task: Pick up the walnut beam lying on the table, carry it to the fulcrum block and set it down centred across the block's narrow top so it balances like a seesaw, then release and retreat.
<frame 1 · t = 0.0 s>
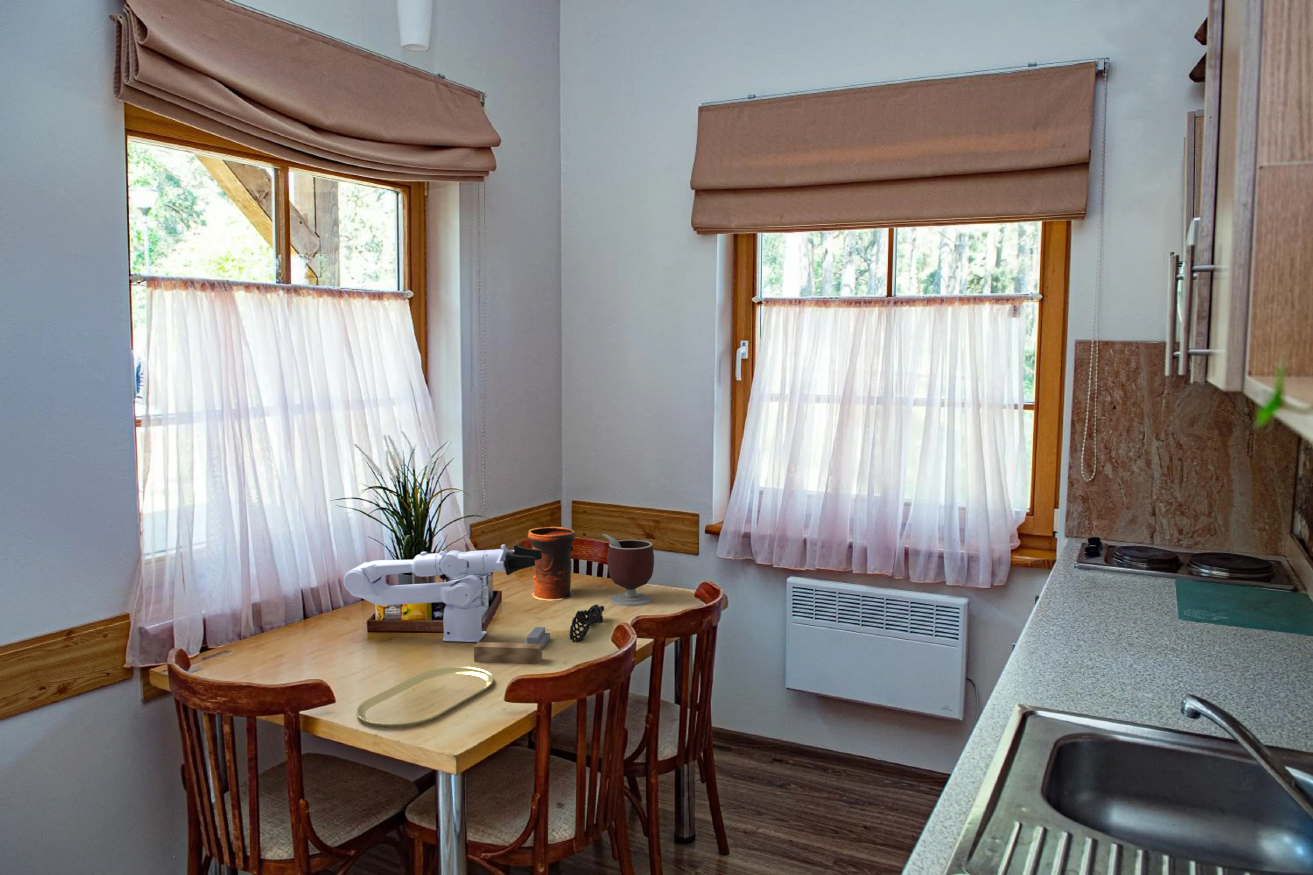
hand: (538, 557, 246), 22 cm above the table, tool horizontal, fingers open, 7 cm apart
fulcrum: (536, 643, 245), on the table
decorative element: (587, 631, 257), on the table
serving platter: (428, 700, 208), on the table
mate gourd: (628, 600, 286), on the table
vessel: (552, 595, 292), on the table
beam: (508, 661, 232), on the table
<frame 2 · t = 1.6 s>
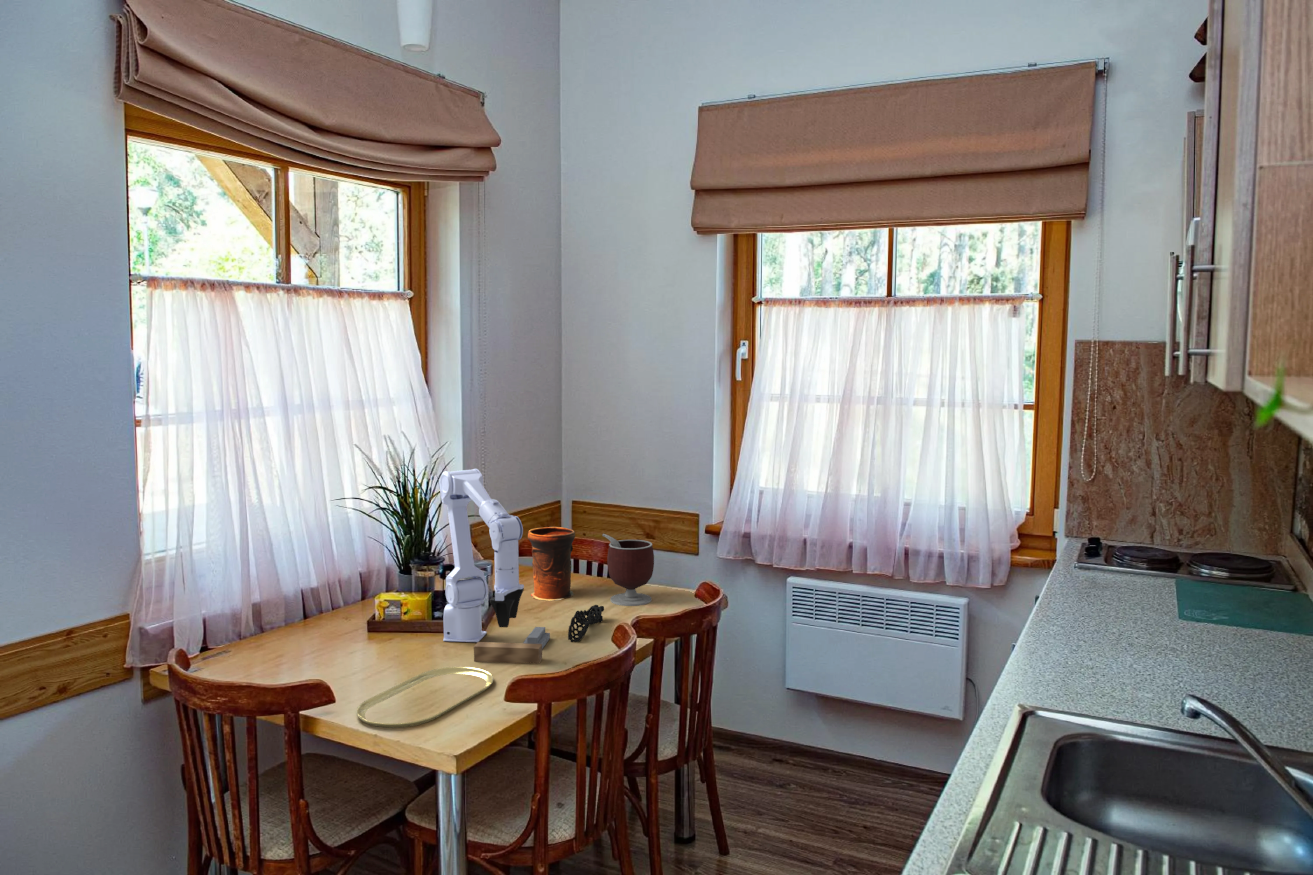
hand: (507, 622, 231), 9 cm above the table, tool pointing down, fingers open, 7 cm apart
nothing on the table moved.
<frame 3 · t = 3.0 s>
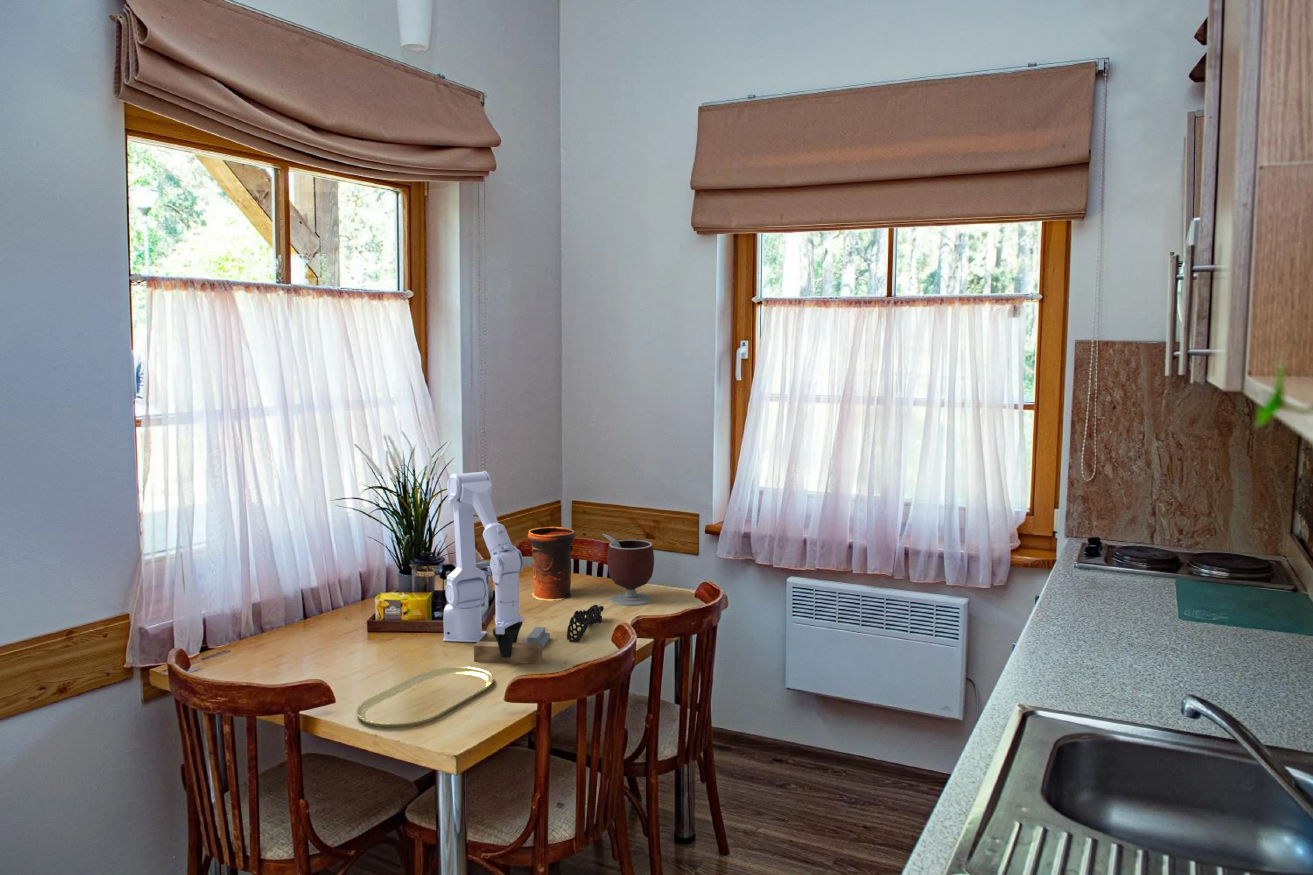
hand: (508, 654, 232), 1 cm above the table, tool pointing down, fingers closed on beam, 3 cm apart
beam: (508, 660, 232), on the table, touching gripper
everything else where it was.
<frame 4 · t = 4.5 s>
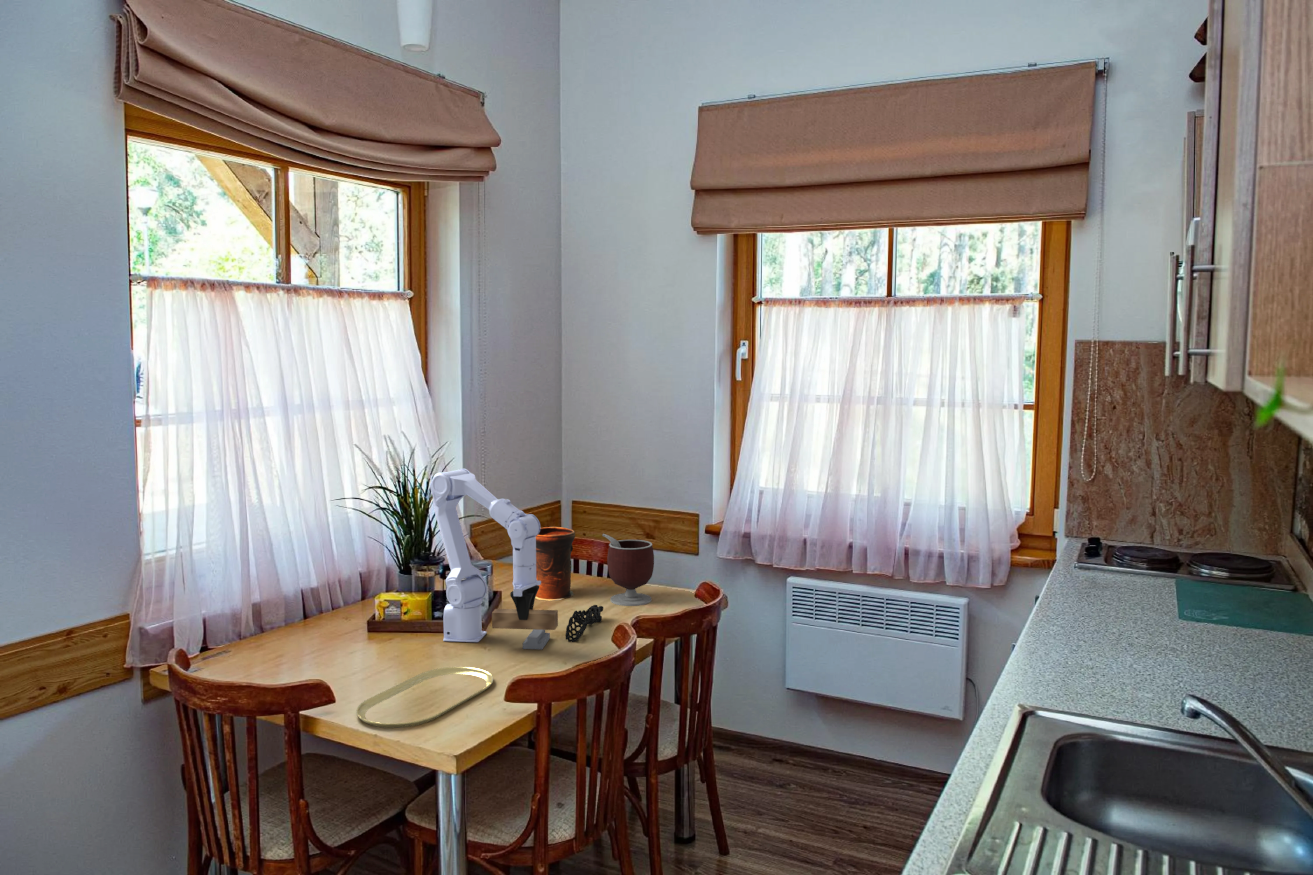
hand: (525, 617, 239), 8 cm above the table, tool pointing down, fingers closed on beam, 3 cm apart
beam: (525, 626, 239), point 6 cm above the table, touching gripper
everything else where it was.
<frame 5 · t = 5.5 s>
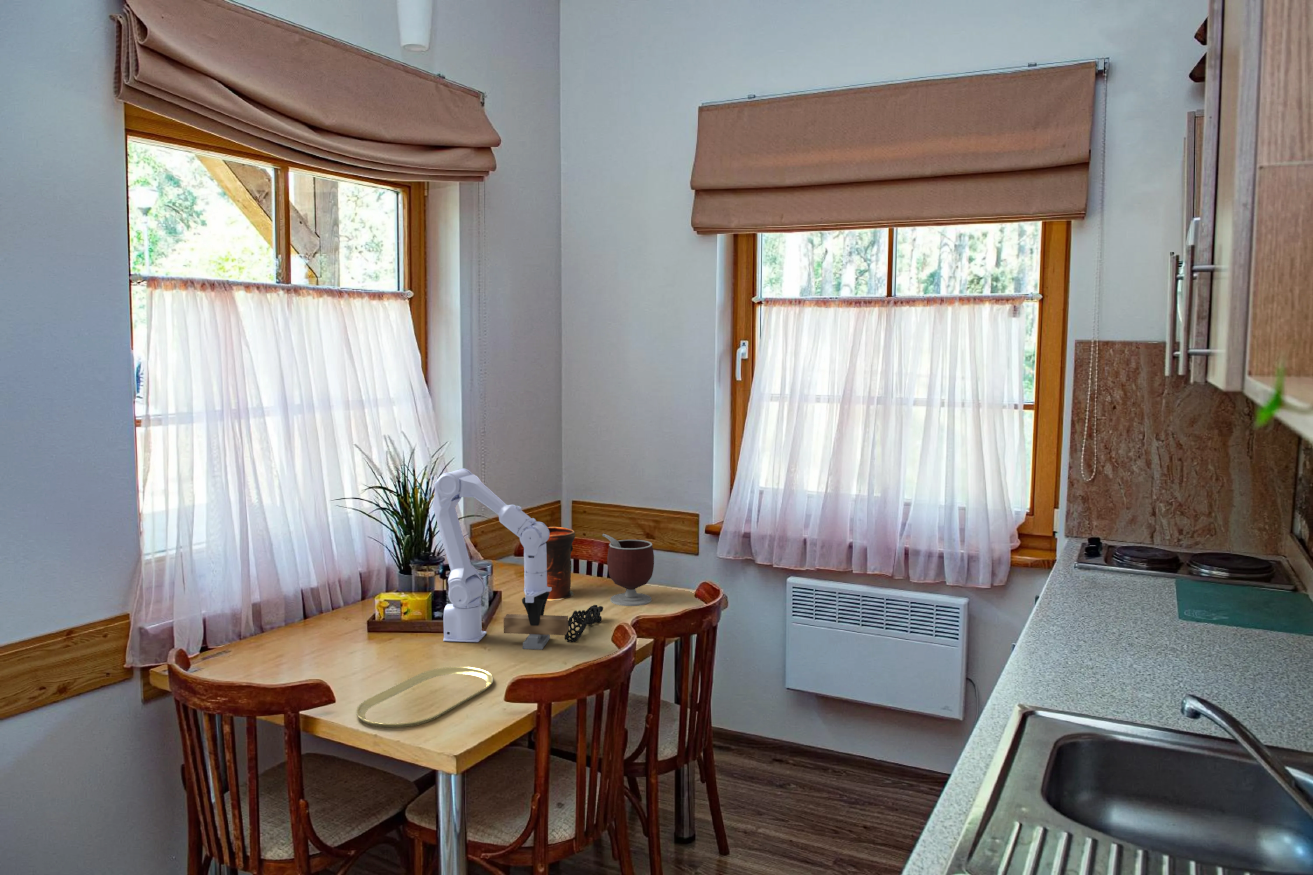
hand: (536, 622, 244), 5 cm above the table, tool pointing down, fingers closed on beam, 3 cm apart
beam: (536, 632, 245), point 3 cm above the table, touching fulcrum, gripper
everything else where it was.
when the fingers open (5 cm above the table, at t = 5.8 s): beam stays where it is, resting on fulcrum.
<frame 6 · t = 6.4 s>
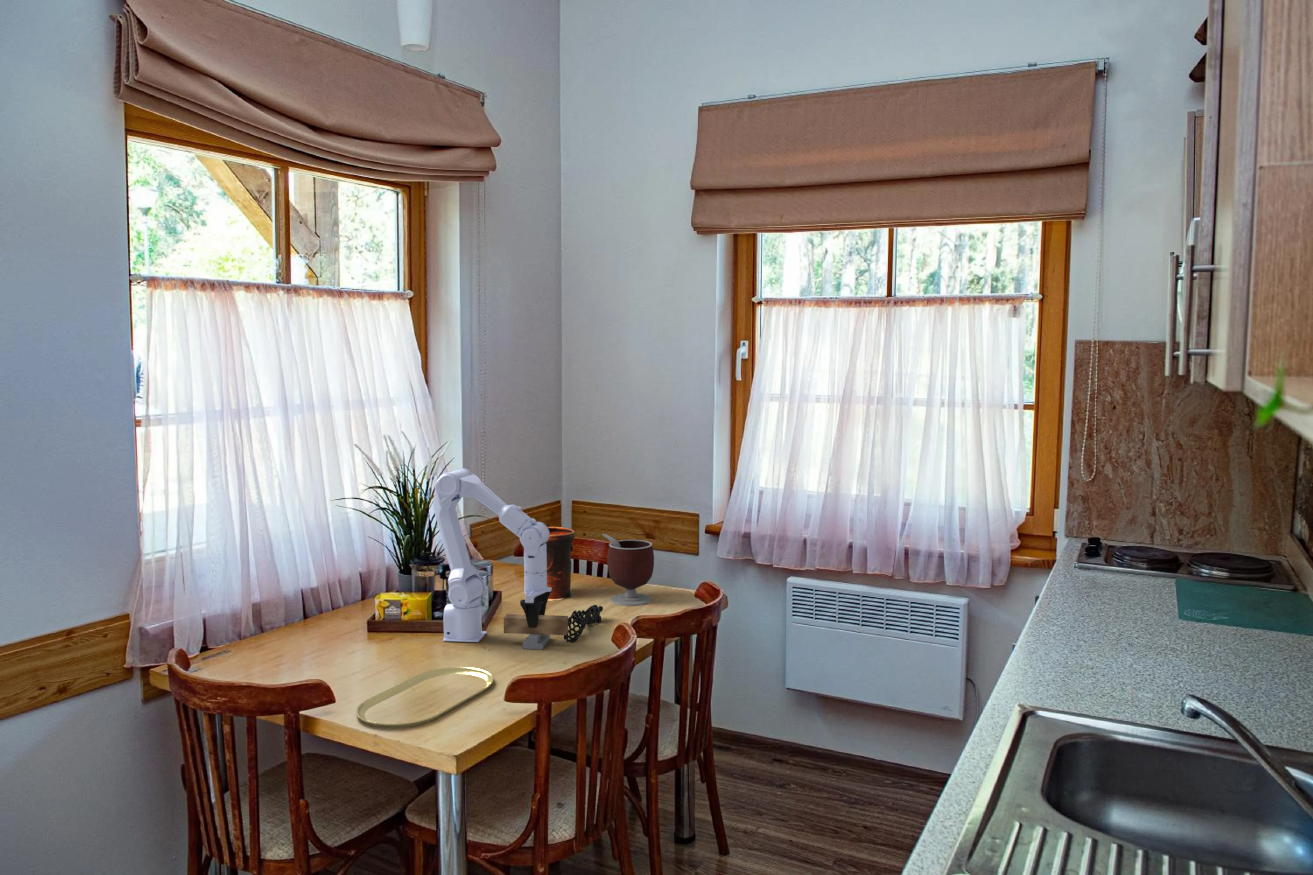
hand: (536, 622, 244), 5 cm above the table, tool pointing down, fingers open, 7 cm apart
beam: (536, 632, 245), point 3 cm above the table, touching fulcrum
everything else where it was.
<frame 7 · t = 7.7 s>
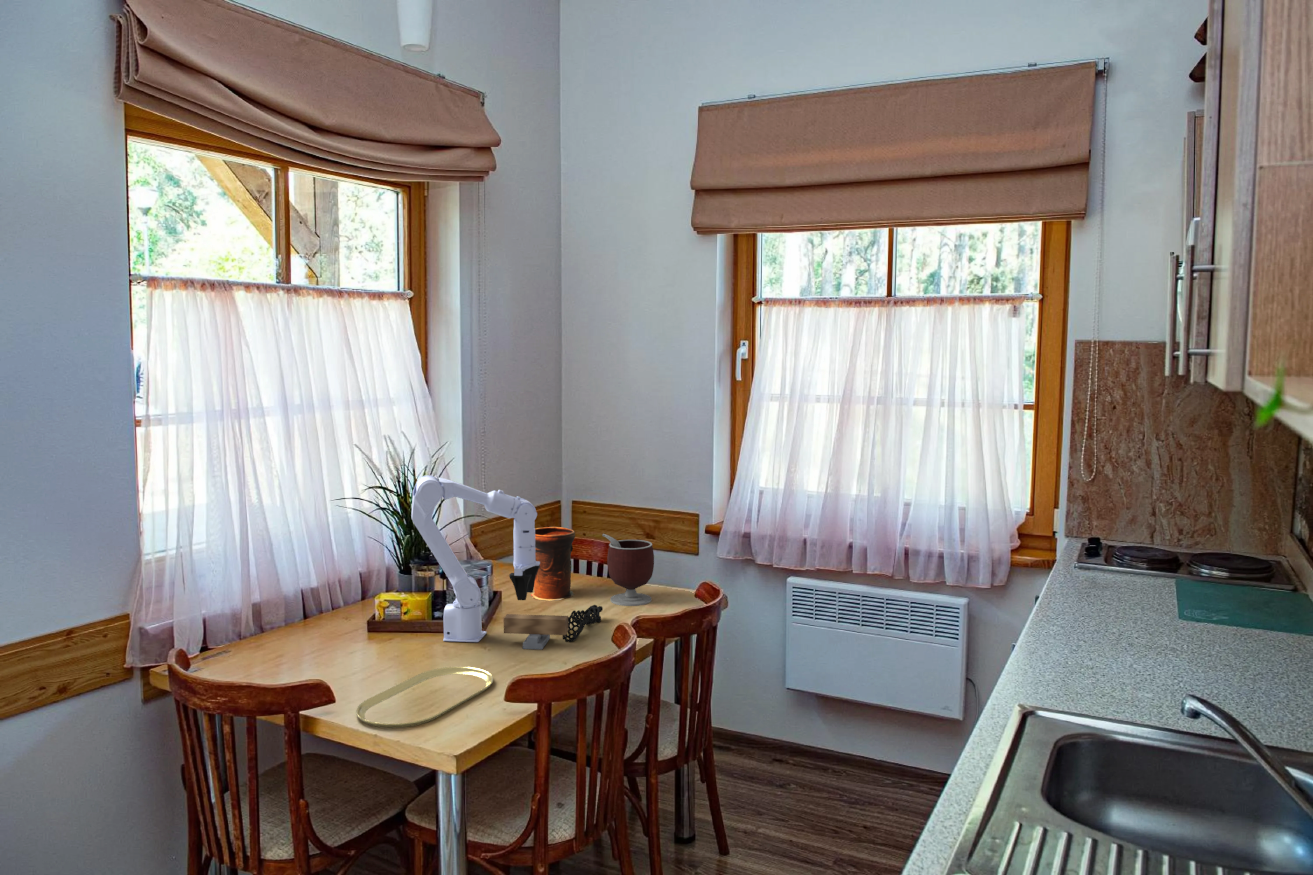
hand: (525, 595, 253), 10 cm above the table, tool pointing down, fingers open, 7 cm apart
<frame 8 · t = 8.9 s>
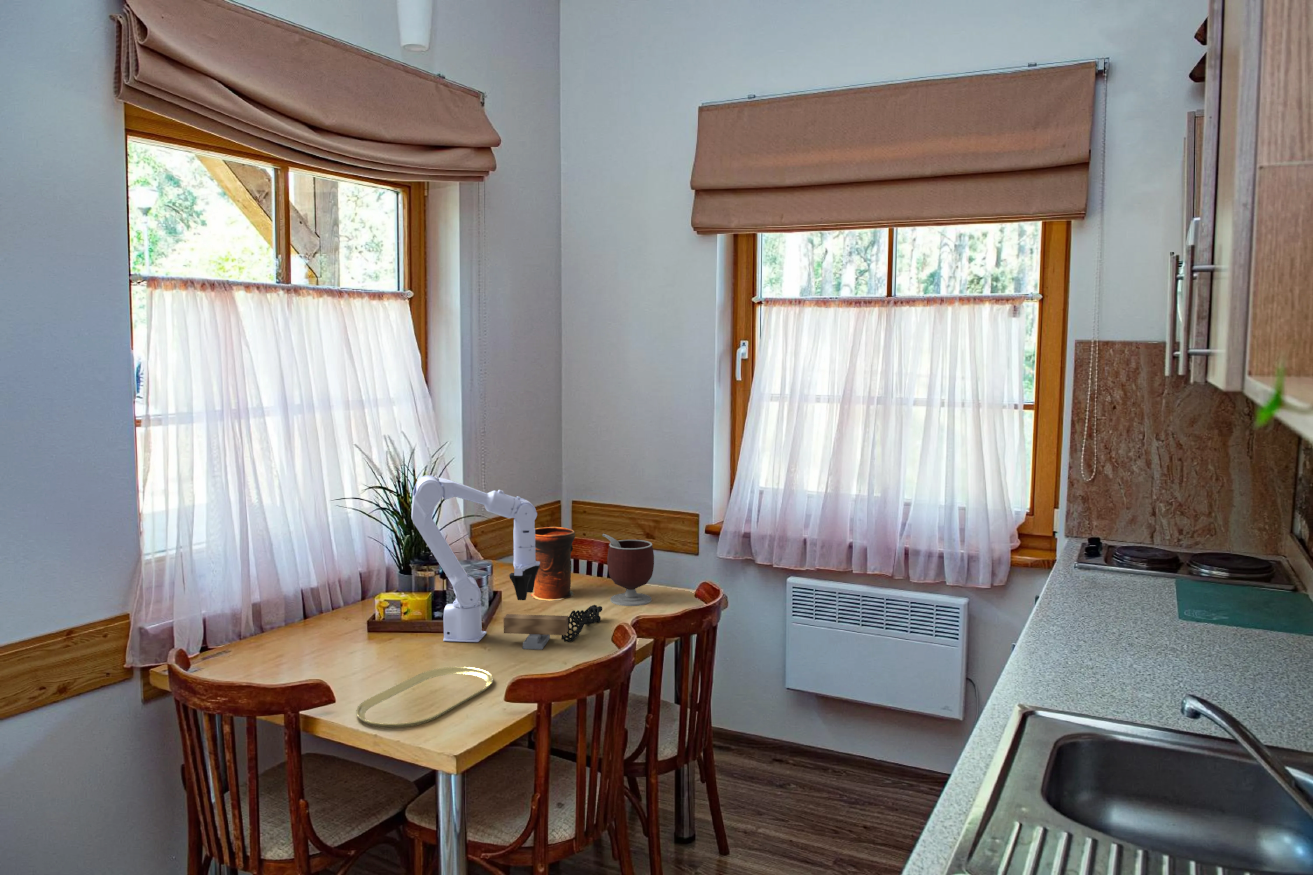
hand: (525, 595, 253), 10 cm above the table, tool pointing down, fingers open, 7 cm apart
at the end: beam 0.1 cm off-centre on the fulcrum, point 3.0 cm above the fulcrum's base; beam tilted 0°; beam touching fulcrum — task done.
